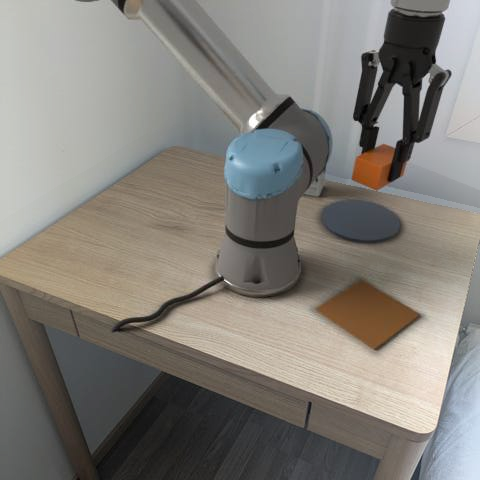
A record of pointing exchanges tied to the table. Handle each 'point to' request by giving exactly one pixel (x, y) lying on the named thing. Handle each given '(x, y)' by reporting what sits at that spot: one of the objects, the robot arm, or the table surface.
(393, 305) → the cork mat
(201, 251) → the table surface
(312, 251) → the table surface
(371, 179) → the orange rectangular block
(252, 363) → the table surface
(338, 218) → the plate
